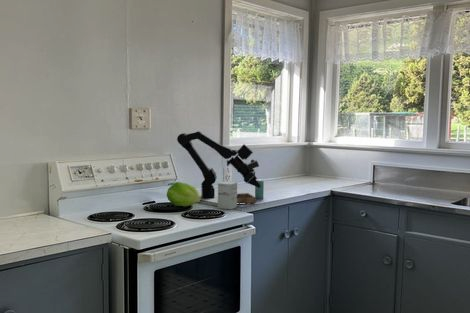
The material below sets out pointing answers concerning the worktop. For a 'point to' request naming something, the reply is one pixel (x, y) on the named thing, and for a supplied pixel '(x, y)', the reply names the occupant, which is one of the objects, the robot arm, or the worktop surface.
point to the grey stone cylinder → (227, 195)
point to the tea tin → (259, 189)
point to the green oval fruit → (183, 194)
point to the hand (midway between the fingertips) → (259, 185)
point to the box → (245, 198)
